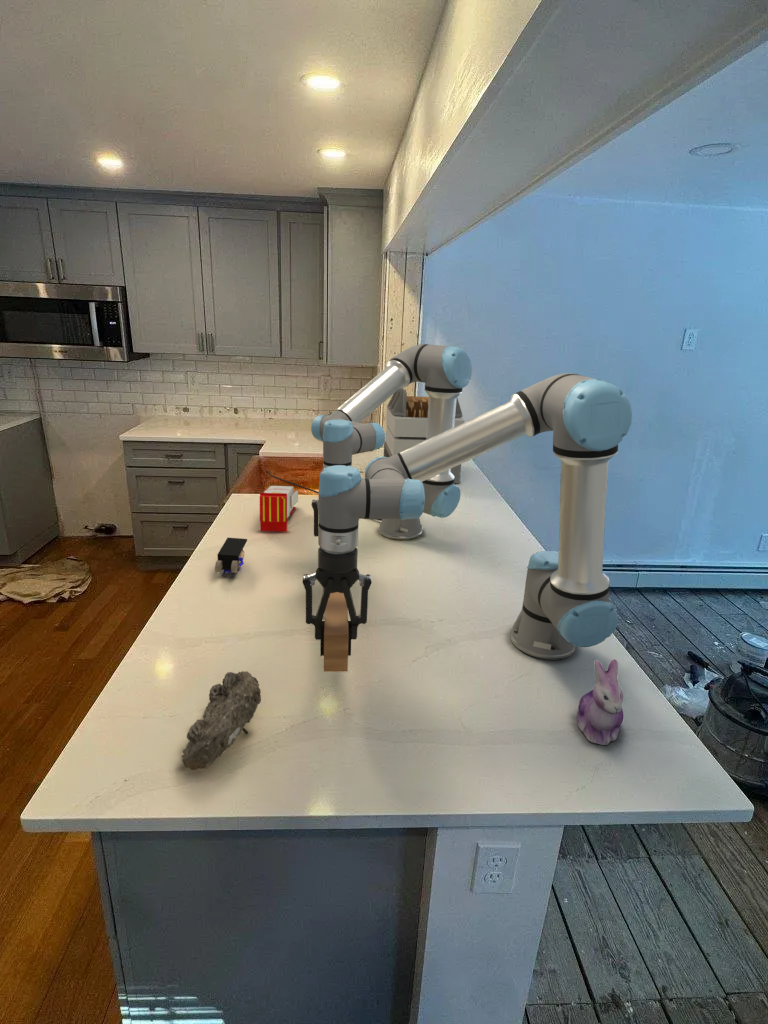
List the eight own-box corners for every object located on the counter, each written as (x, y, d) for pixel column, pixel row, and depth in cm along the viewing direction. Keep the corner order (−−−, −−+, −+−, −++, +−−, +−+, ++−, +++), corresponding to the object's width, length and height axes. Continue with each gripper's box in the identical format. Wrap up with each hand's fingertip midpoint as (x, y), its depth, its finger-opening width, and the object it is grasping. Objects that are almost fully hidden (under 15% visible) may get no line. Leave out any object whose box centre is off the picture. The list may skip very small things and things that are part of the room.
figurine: (602, 755, 103) (617, 685, 98) (562, 719, 111) (574, 654, 106) (638, 739, 107) (654, 672, 102) (596, 706, 116) (609, 643, 110)
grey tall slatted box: (382, 463, 289) (386, 382, 275) (445, 464, 293) (451, 384, 279) (390, 482, 257) (394, 392, 243) (460, 483, 261) (468, 394, 247)
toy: (300, 481, 221) (289, 494, 192) (300, 514, 224) (289, 533, 194) (268, 480, 221) (253, 493, 191) (269, 514, 223) (254, 532, 194)
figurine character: (238, 584, 162) (249, 557, 175) (236, 562, 158) (247, 536, 172) (215, 584, 161) (227, 556, 175) (212, 561, 158) (225, 535, 171)
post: (327, 552, 164) (327, 525, 161) (343, 552, 164) (344, 525, 161) (323, 671, 110) (324, 634, 107) (347, 671, 111) (348, 634, 108)
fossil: (206, 672, 114) (260, 639, 109) (238, 703, 117) (292, 672, 112) (156, 763, 94) (219, 728, 89) (197, 797, 97) (260, 766, 92)
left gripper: (302, 482, 146) (302, 564, 154) (371, 484, 148) (367, 565, 156) (304, 474, 153) (304, 553, 161) (369, 475, 155) (366, 553, 163)
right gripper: (289, 554, 103) (290, 663, 111) (386, 555, 105) (380, 662, 113) (292, 538, 110) (292, 641, 118) (382, 540, 112) (377, 641, 120)
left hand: (335, 558), depth 158 cm, fingers closed on post, 5 cm apart
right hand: (335, 651), depth 116 cm, fingers closed on post, 5 cm apart
